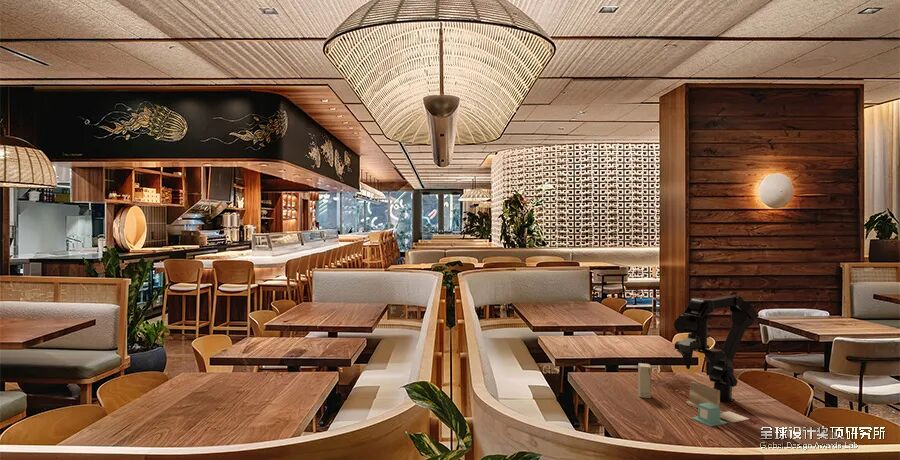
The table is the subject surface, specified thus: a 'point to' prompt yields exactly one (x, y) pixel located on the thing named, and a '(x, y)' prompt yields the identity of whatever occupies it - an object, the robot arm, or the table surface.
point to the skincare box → (644, 380)
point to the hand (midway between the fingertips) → (697, 372)
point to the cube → (709, 412)
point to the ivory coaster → (732, 417)
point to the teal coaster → (709, 423)
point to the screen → (703, 395)
